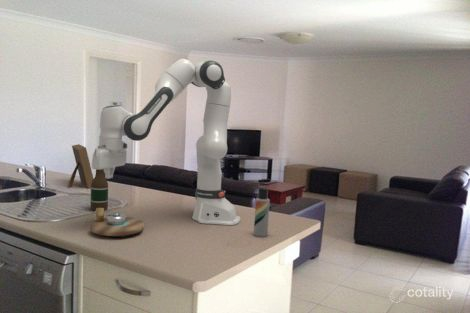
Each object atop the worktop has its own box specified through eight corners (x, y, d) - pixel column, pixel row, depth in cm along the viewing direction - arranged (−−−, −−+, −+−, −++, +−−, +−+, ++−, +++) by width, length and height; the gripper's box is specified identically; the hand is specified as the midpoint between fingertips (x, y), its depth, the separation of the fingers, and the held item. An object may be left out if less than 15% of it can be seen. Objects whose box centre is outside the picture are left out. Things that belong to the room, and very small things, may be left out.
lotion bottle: (259, 232, 165) (261, 185, 163) (270, 235, 162) (273, 187, 160) (250, 234, 161) (253, 186, 159) (262, 238, 157) (265, 189, 155)
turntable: (152, 224, 162) (152, 208, 161) (127, 238, 143) (128, 219, 142) (108, 219, 167) (109, 203, 166) (79, 231, 147) (79, 213, 147)
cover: (128, 222, 156) (129, 212, 156) (117, 226, 150) (117, 216, 149) (114, 219, 159) (114, 210, 158) (102, 223, 152) (102, 213, 152)
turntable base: (141, 229, 160) (142, 226, 160) (124, 239, 146) (124, 235, 146) (111, 225, 163) (111, 222, 163) (91, 234, 150) (91, 231, 150)
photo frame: (87, 182, 256) (88, 144, 254) (95, 188, 238) (95, 147, 235) (63, 183, 249) (63, 144, 246) (69, 189, 230) (69, 147, 228)
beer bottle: (89, 212, 182) (90, 161, 180) (91, 208, 190) (92, 159, 187) (107, 211, 184) (108, 161, 182) (108, 207, 192) (109, 159, 190)
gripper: (102, 146, 149) (101, 182, 151) (129, 144, 169) (128, 176, 170) (88, 145, 151) (86, 180, 152) (116, 143, 171) (115, 174, 172)
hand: (109, 178), depth 161 cm, fingers closed
